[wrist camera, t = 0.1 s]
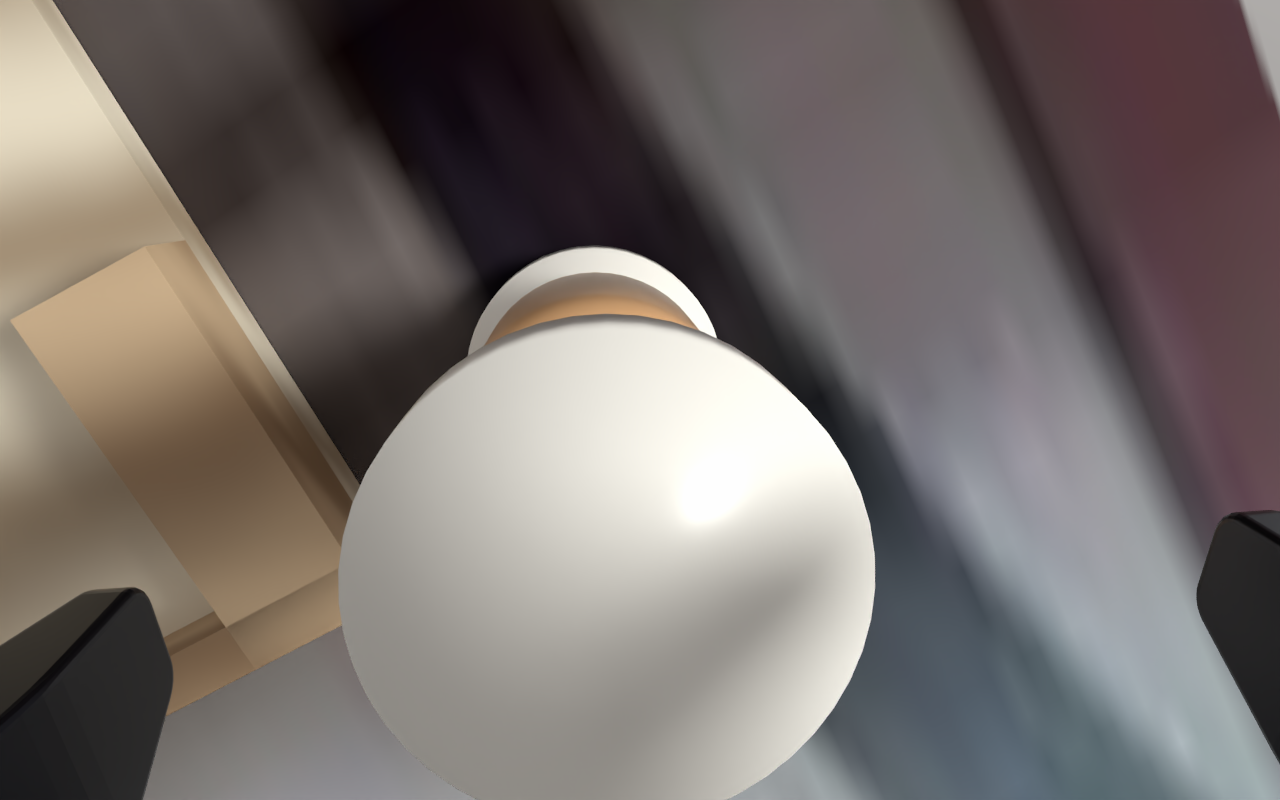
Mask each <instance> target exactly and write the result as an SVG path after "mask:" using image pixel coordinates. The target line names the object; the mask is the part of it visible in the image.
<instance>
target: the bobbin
mask: <svg viewBox="0 0 1280 800" xmlns="http://www.w3.org/2000/svg"><path fill="white" fill-rule="evenodd" d="M338 586H339V608H340V615H341V621H342V628H343V634H344V638H345V641H346V645H347V648H348V651H349V655H350V658H351V661H352V665H353V667H354V670H355V672H356V674H357V676H358V678H359V680H360V682H361V685H362V687H363V689H364V691H365V693H366V695H367V697H368V699H369V700H370V702H371V703H372V705H373V706H374V708H375V710H376V711H377V713H378V714H379V716H380V717H381V719H382V720H383V722H384V724H385V725H386V726H387V727H388V728H389V729H390V731H391V732H392V733H393V734H394V735H395V736H396V738H397V739H398V740H399V741H400V742H401V744H402V745H403V746H404V747H405V748H406V749H407V750H408V751H409V752H410V753H411V754H412V755H414V756H415V757H416V758H417V759H418V760H419V761H420V762H421V763H422V764H424V765H425V766H426V767H427V768H428V769H429V770H430V771H432V772H433V773H435V774H436V775H438V776H439V777H440V778H442V779H443V780H445V781H446V782H448V783H449V784H450V785H452V786H453V787H455V788H456V789H458V790H460V791H462V792H464V793H466V794H468V795H469V796H471V797H473V798H475V799H477V800H726V799H728V798H731V797H733V796H735V795H737V794H739V793H741V792H742V791H744V790H745V789H747V788H749V787H750V786H752V785H754V784H755V783H757V782H758V781H760V780H762V779H763V778H765V777H766V776H768V775H769V774H770V773H771V772H773V771H774V770H775V769H776V768H778V767H779V766H780V765H781V764H783V763H784V762H785V761H786V760H788V759H789V758H790V757H791V756H793V755H794V754H795V753H796V751H797V750H798V749H799V748H800V747H801V746H802V745H803V744H804V743H805V742H806V741H807V740H808V739H809V738H810V737H811V736H812V735H813V734H814V733H815V732H816V731H817V729H818V728H819V727H820V725H821V724H822V723H823V721H824V720H825V719H826V718H827V716H828V715H829V714H830V712H831V711H832V710H833V708H834V707H835V705H836V703H837V702H838V700H839V698H840V697H841V695H842V693H843V691H844V690H845V688H846V686H847V685H848V683H849V681H850V679H851V677H852V674H853V672H854V670H855V667H856V665H857V662H858V660H859V658H860V655H861V653H862V651H863V647H864V643H865V640H866V636H867V632H868V629H869V625H870V621H871V615H872V607H873V600H874V592H875V554H874V547H873V541H872V534H871V527H870V522H869V519H868V516H867V512H866V509H865V505H864V502H863V499H862V495H861V492H860V490H859V488H858V486H857V483H856V481H855V479H854V477H853V475H852V473H851V470H850V468H849V466H848V464H847V462H846V460H845V459H844V457H843V456H842V454H841V453H840V451H839V449H838V448H837V446H836V445H835V443H834V442H833V440H832V439H831V437H830V435H829V434H828V433H827V432H826V430H825V429H824V428H823V427H822V426H821V425H820V424H819V422H818V421H817V420H816V419H815V418H814V417H813V415H812V414H811V413H810V412H809V411H808V410H807V408H806V407H805V406H804V405H803V404H802V403H801V402H800V401H799V400H798V399H797V398H796V397H795V396H794V395H793V394H792V393H791V392H790V391H789V390H788V389H787V388H786V387H785V386H784V385H783V384H782V383H781V382H779V381H778V380H777V379H776V378H775V377H774V376H773V375H771V374H770V373H769V372H768V371H767V370H766V369H765V368H764V367H762V366H761V365H760V364H759V363H757V362H756V361H754V360H753V359H751V358H750V357H748V356H747V355H745V354H744V353H742V352H741V351H739V350H738V349H736V348H735V347H733V346H731V345H729V344H727V343H725V342H723V341H721V340H719V339H717V337H716V334H715V331H714V328H713V326H712V324H711V322H710V320H709V318H708V316H707V314H706V312H705V311H704V309H703V308H702V306H701V305H700V303H699V301H698V300H697V299H696V298H695V296H694V295H693V294H692V293H691V292H690V291H689V290H688V288H687V287H686V286H685V285H684V284H683V283H682V282H681V281H680V280H679V279H677V278H676V277H675V276H674V275H673V274H672V273H671V272H670V271H668V270H667V269H665V268H664V267H662V266H661V265H659V264H658V263H656V262H655V261H652V260H650V259H648V258H646V257H644V256H642V255H640V254H637V253H634V252H631V251H628V250H625V249H620V248H615V247H610V246H579V247H573V248H568V249H563V250H559V251H556V252H553V253H551V254H548V255H545V256H543V257H541V258H539V259H537V260H535V261H533V262H531V263H530V264H528V265H527V266H525V267H524V268H522V269H521V270H519V271H518V272H517V273H516V274H514V275H513V276H512V277H511V278H510V279H509V280H508V281H507V282H506V283H505V284H504V285H503V286H502V287H501V289H500V290H499V291H498V292H497V293H496V294H495V296H494V297H493V298H492V300H491V301H490V303H489V304H488V306H487V307H486V309H485V310H484V312H483V314H482V315H481V317H480V319H479V321H478V324H477V326H476V328H475V330H474V333H473V336H472V340H471V343H470V346H469V352H468V356H467V357H466V358H464V359H463V360H461V361H460V362H459V363H457V364H456V365H454V366H453V367H451V368H450V369H449V370H448V371H447V372H446V373H445V374H443V375H442V376H441V377H440V378H439V379H438V380H437V381H436V382H435V383H433V384H432V385H431V386H430V387H429V388H428V389H427V390H426V391H425V392H424V393H423V395H422V396H421V397H420V398H419V399H418V400H417V402H416V403H415V404H414V405H413V406H412V408H411V409H410V410H409V411H408V412H407V413H406V415H405V416H404V417H403V419H402V420H401V421H400V423H399V424H398V425H397V427H396V428H395V429H394V431H393V432H392V433H391V435H390V436H389V437H388V439H387V440H386V441H385V443H384V445H383V446H382V448H381V449H380V451H379V453H378V454H377V456H376V457H375V459H374V460H373V462H372V464H371V465H370V467H369V468H368V470H367V472H366V474H365V476H364V478H363V481H362V483H361V485H360V487H359V489H358V492H357V494H356V496H355V498H354V501H353V503H352V506H351V510H350V513H349V517H348V520H347V524H346V527H345V531H344V534H343V539H342V546H341V554H340V561H339V568H338Z"/></svg>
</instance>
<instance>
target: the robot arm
mask: <svg viewBox="0 0 1280 800" xmlns="http://www.w3.org/2000/svg"><path fill="white" fill-rule="evenodd" d="M1196 598H1197V606H1198V610H1199V613H1200V616H1201V618H1202V621H1203V622H1204V624H1205V626H1206V628H1207V630H1208V632H1209V634H1210V635H1211V637H1212V639H1213V641H1214V643H1215V645H1216V647H1217V649H1218V650H1219V652H1220V654H1221V656H1222V658H1223V660H1224V662H1225V663H1226V665H1227V667H1228V669H1229V671H1230V673H1231V675H1232V677H1233V678H1234V680H1235V682H1236V684H1237V686H1238V688H1239V690H1240V692H1241V693H1242V695H1243V697H1244V699H1245V701H1246V703H1247V705H1248V706H1249V708H1250V710H1251V712H1252V714H1253V716H1254V718H1255V720H1256V721H1257V723H1258V725H1259V727H1260V729H1261V731H1262V733H1263V735H1264V736H1265V738H1266V740H1267V742H1268V744H1269V746H1270V748H1271V749H1272V751H1273V753H1274V755H1275V756H1276V758H1277V760H1278V762H1279V764H1280V511H1274V510H1263V511H1249V512H1234V513H1231V514H1229V515H1226V516H1225V517H1223V518H1222V520H1221V521H1220V522H1219V523H1218V525H1217V527H1216V529H1215V532H1214V535H1213V538H1212V542H1211V545H1210V548H1209V551H1208V554H1207V557H1206V561H1205V564H1204V567H1203V570H1202V573H1201V576H1200V580H1199V583H1198V587H1197V597H1196ZM172 689H173V665H172V661H171V658H170V655H169V652H168V649H167V646H166V644H165V641H164V638H163V635H162V632H161V629H160V626H159V624H158V621H157V618H156V615H155V612H154V609H153V606H152V604H151V602H150V599H149V597H148V596H147V595H146V593H145V592H144V591H142V590H141V589H138V588H136V587H124V588H109V589H95V590H89V591H86V592H83V593H81V594H80V595H78V596H76V597H75V598H73V599H72V600H70V601H69V602H67V603H65V604H64V605H62V606H61V607H59V608H58V609H56V610H55V611H53V612H51V613H50V614H48V615H47V616H45V617H44V618H42V619H40V620H39V621H37V622H36V623H34V624H33V625H31V626H30V627H28V628H26V629H25V630H23V631H22V632H20V633H19V634H17V635H15V636H14V637H12V638H11V639H9V640H8V641H6V642H4V643H3V644H1V645H0V800H143V797H144V794H145V790H146V786H147V783H148V779H149V775H150V772H151V768H152V764H153V761H154V757H155V753H156V749H157V746H158V742H159V738H160V735H161V731H162V727H163V724H164V720H165V716H166V713H167V709H168V705H169V702H170V698H171V694H172Z"/></svg>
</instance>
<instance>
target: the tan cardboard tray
mask: <svg viewBox="0 0 1280 800" xmlns="http://www.w3.org/2000/svg"><path fill="white" fill-rule="evenodd" d="M359 487H360V484H359V483H358V481H357V480H356V478H355V476H354V475H353V473H352V472H351V470H350V469H349V467H348V465H347V464H346V462H345V461H344V459H343V458H342V456H341V454H340V453H339V451H338V450H337V448H336V446H335V445H334V443H333V442H332V440H331V439H330V437H329V435H328V434H327V432H326V431H325V429H324V428H323V426H322V424H321V423H320V421H319V420H318V418H317V417H316V415H315V413H314V412H313V410H312V409H311V407H310V405H309V404H308V402H307V401H306V399H305V398H304V396H303V394H302V393H301V391H300V390H299V388H298V387H297V385H296V383H295V382H294V380H293V379H292V377H291V376H290V374H289V372H288V371H287V369H286V368H285V366H284V365H283V363H282V361H281V360H280V358H279V357H278V355H277V353H276V352H275V350H274V349H273V347H272V346H271V344H270V342H269V341H268V339H267V338H266V336H265V335H264V333H263V331H262V330H261V328H260V327H259V325H258V324H257V322H256V320H255V319H254V317H253V316H252V314H251V313H250V311H249V309H248V308H247V306H246V305H245V303H244V301H243V300H242V298H241V297H240V295H239V294H238V292H237V290H236V289H235V287H234V286H233V284H232V283H231V281H230V279H229V278H228V276H227V275H226V273H225V272H224V270H223V268H222V267H221V265H220V264H219V262H218V260H217V259H216V257H215V256H214V254H213V253H212V251H211V249H210V248H209V246H208V245H207V243H206V242H205V240H204V238H203V237H202V235H201V234H200V232H199V231H198V229H197V227H196V226H195V224H194V223H193V221H192V220H191V218H190V216H189V215H188V213H187V212H186V210H185V208H184V207H183V205H182V204H181V202H180V201H179V199H178V197H177V196H176V194H175V193H174V191H173V190H172V188H171V186H170V185H169V183H168V182H167V180H166V179H165V177H164V175H163V174H162V172H161V171H160V169H159V168H158V166H157V164H156V163H155V161H154V160H153V158H152V156H151V155H150V153H149V152H148V150H147V149H146V147H145V145H144V144H143V142H142V141H141V139H140V138H139V136H138V134H137V133H136V131H135V130H134V128H133V127H132V125H131V123H130V122H129V120H128V119H127V117H126V115H125V114H124V112H123V111H122V109H121V108H120V106H119V104H118V103H117V101H116V100H115V98H114V97H113V95H112V93H111V92H110V90H109V89H108V87H107V86H106V84H105V82H104V81H103V79H102V78H101V76H100V75H99V73H98V71H97V70H96V68H95V67H94V65H93V63H92V62H91V60H90V59H89V57H88V56H87V54H86V52H85V51H84V49H83V48H82V46H81V45H80V43H79V41H78V40H77V38H76V37H75V35H74V34H73V32H72V30H71V29H70V27H69V26H68V24H67V23H66V21H65V19H64V18H63V16H62V15H61V13H60V11H59V10H58V8H57V7H56V5H55V4H54V2H53V0H0V645H1V644H3V643H4V642H6V641H8V640H9V639H11V638H12V637H14V636H15V635H17V634H19V633H20V632H22V631H23V630H25V629H26V628H28V627H30V626H31V625H33V624H34V623H36V622H37V621H39V620H40V619H42V618H44V617H45V616H47V615H48V614H50V613H51V612H53V611H55V610H56V609H58V608H59V607H61V606H62V605H64V604H65V603H67V602H69V601H70V600H72V599H73V598H75V597H76V596H78V595H80V594H81V593H83V592H86V591H89V590H95V589H109V588H124V587H136V588H138V589H141V590H142V591H144V592H145V593H146V595H147V596H148V597H149V599H150V602H151V604H152V606H153V609H154V612H155V615H156V618H157V621H158V624H159V626H160V629H161V632H162V635H163V638H164V641H165V644H166V646H167V649H168V652H169V655H170V658H171V661H172V665H173V689H172V694H171V698H170V702H169V705H168V709H167V713H166V716H168V715H169V714H171V713H173V712H175V711H177V710H179V709H181V708H183V707H185V706H187V705H189V704H191V703H193V702H195V701H196V700H198V699H200V698H202V697H204V696H206V695H208V694H210V693H212V692H214V691H216V690H218V689H220V688H222V687H223V686H225V685H227V684H229V683H231V682H233V681H235V680H237V679H239V678H241V677H243V676H245V675H247V674H249V673H250V672H252V671H254V670H256V669H258V668H260V667H262V666H264V665H266V664H268V663H270V662H272V661H274V660H276V659H278V658H279V657H281V656H283V655H285V654H287V653H289V652H291V651H293V650H295V649H297V648H299V647H301V646H303V645H305V644H306V643H308V642H310V641H312V640H314V639H316V638H318V637H320V636H322V635H324V634H326V633H328V632H330V631H332V630H333V629H335V628H337V627H339V626H341V625H342V621H341V615H340V608H339V586H338V568H339V561H340V554H341V546H342V539H343V534H344V531H345V527H346V524H347V520H348V517H349V513H350V510H351V506H352V503H353V501H354V498H355V496H356V494H357V492H358V489H359ZM166 716H165V717H166Z"/></svg>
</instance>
